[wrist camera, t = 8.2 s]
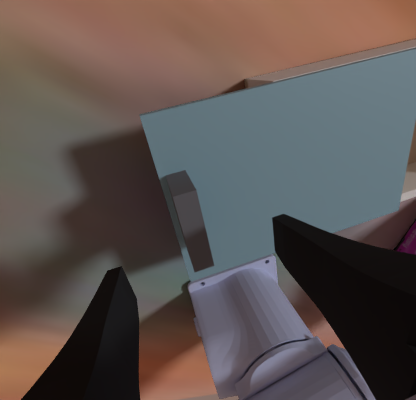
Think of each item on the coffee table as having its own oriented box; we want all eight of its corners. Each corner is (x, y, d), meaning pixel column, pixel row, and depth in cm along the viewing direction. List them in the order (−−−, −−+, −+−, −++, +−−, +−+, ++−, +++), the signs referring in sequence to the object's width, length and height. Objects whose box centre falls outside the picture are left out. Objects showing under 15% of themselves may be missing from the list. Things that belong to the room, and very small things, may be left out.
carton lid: (189, 276, 20) (200, 314, 17) (139, 114, 14) (141, 126, 11) (392, 207, 22) (435, 229, 19) (420, 46, 17) (487, 40, 13)
